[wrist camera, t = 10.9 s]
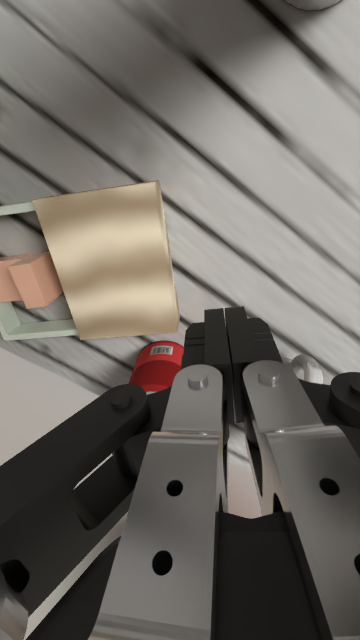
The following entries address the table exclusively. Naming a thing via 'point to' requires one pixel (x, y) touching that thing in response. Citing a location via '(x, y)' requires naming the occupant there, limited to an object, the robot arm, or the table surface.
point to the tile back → (9, 279)
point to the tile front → (36, 280)
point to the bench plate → (113, 259)
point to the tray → (5, 318)
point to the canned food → (157, 366)
